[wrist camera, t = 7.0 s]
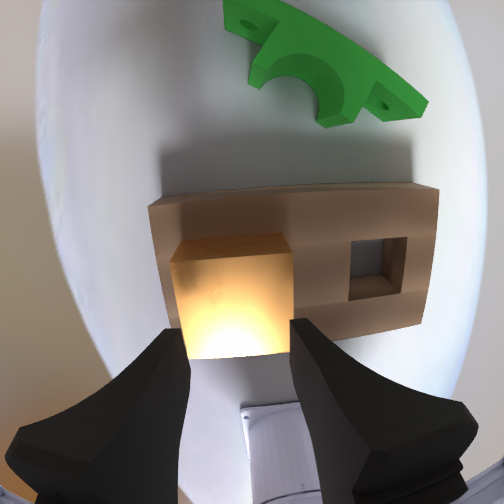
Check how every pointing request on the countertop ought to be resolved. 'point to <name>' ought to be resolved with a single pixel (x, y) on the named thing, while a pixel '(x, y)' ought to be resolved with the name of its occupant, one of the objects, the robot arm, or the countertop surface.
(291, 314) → the orange block
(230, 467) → the countertop surface
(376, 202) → the board
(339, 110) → the pipe clamp
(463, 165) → the countertop surface
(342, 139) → the countertop surface
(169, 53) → the countertop surface
